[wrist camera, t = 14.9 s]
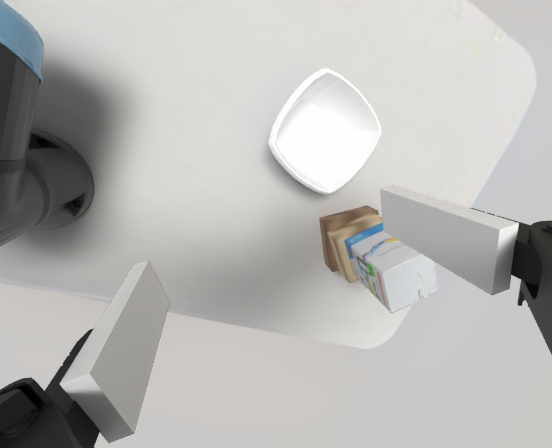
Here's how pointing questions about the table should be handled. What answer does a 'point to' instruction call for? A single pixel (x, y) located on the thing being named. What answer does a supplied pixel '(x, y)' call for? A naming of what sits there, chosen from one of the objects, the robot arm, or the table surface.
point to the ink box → (391, 268)
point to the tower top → (345, 232)
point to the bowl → (324, 132)
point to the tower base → (335, 222)
